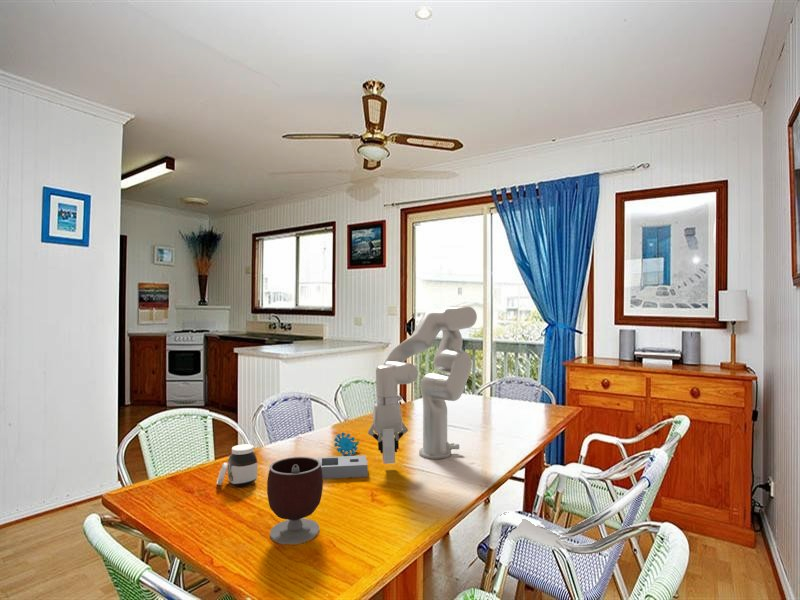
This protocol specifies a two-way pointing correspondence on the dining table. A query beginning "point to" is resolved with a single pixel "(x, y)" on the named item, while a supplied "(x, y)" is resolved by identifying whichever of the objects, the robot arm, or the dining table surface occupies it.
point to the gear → (346, 444)
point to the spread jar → (240, 466)
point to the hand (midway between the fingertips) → (388, 451)
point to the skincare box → (388, 446)
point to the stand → (344, 466)
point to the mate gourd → (294, 498)
